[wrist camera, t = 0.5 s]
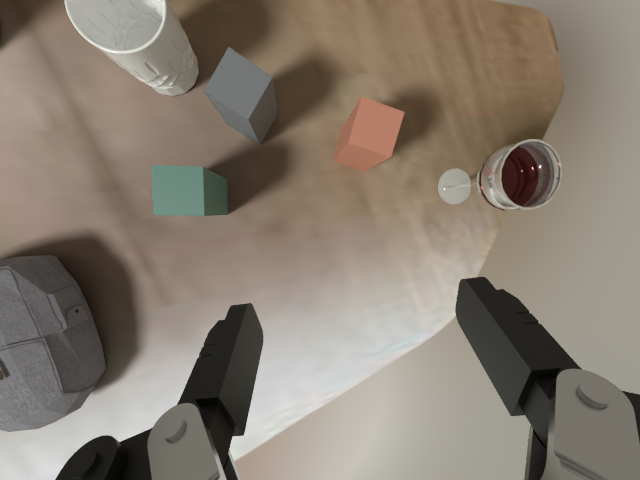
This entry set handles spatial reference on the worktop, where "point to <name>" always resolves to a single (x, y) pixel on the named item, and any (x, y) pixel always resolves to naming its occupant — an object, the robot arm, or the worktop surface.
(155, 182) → the green pillar
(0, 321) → the grey rounded bag
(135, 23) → the white cup
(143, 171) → the worktop surface
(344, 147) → the red pillar
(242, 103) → the charcoal pillar
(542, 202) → the wineglass
